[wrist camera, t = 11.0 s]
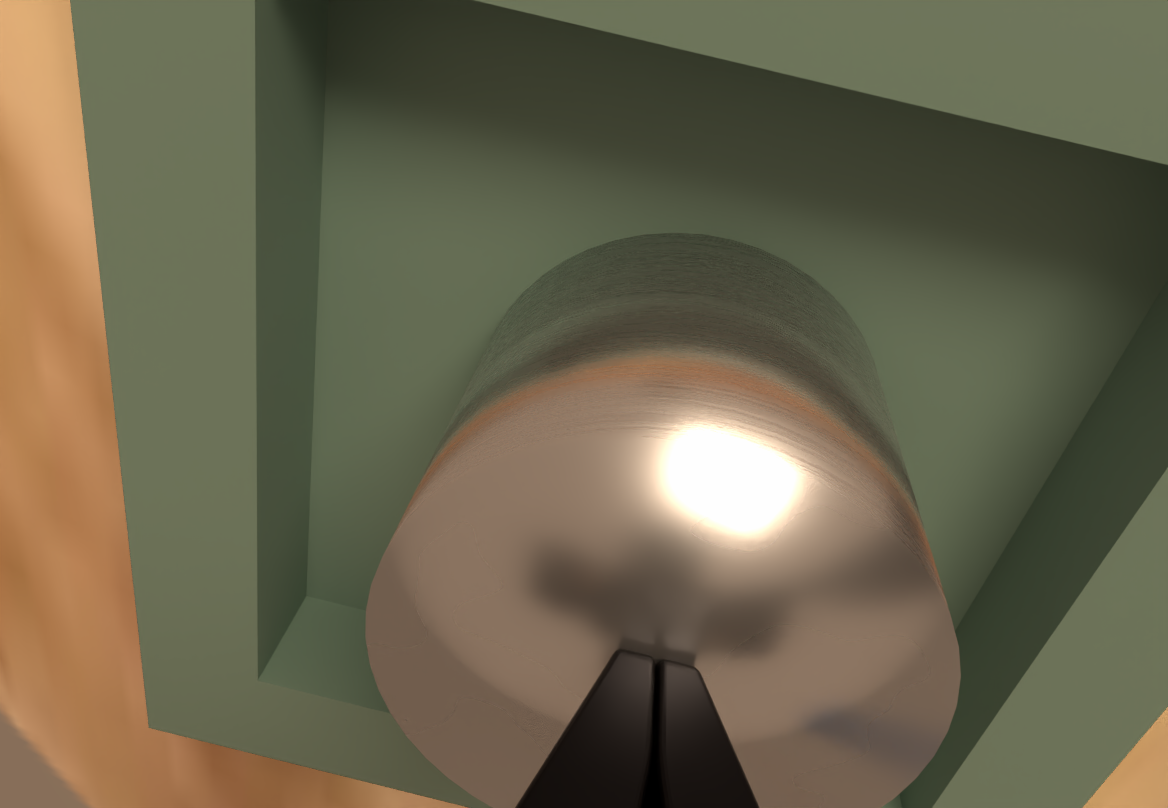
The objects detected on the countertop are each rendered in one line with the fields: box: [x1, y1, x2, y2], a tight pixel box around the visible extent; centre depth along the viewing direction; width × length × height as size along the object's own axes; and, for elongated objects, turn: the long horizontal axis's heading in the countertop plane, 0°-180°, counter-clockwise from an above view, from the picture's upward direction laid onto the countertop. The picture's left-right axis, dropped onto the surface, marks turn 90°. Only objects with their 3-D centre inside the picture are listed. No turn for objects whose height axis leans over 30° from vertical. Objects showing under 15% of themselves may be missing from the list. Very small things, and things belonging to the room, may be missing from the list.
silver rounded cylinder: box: [365, 233, 961, 808], centre depth 11 cm, size 6×6×5 cm
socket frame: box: [70, 0, 1168, 808], centre depth 13 cm, size 15×15×3 cm
